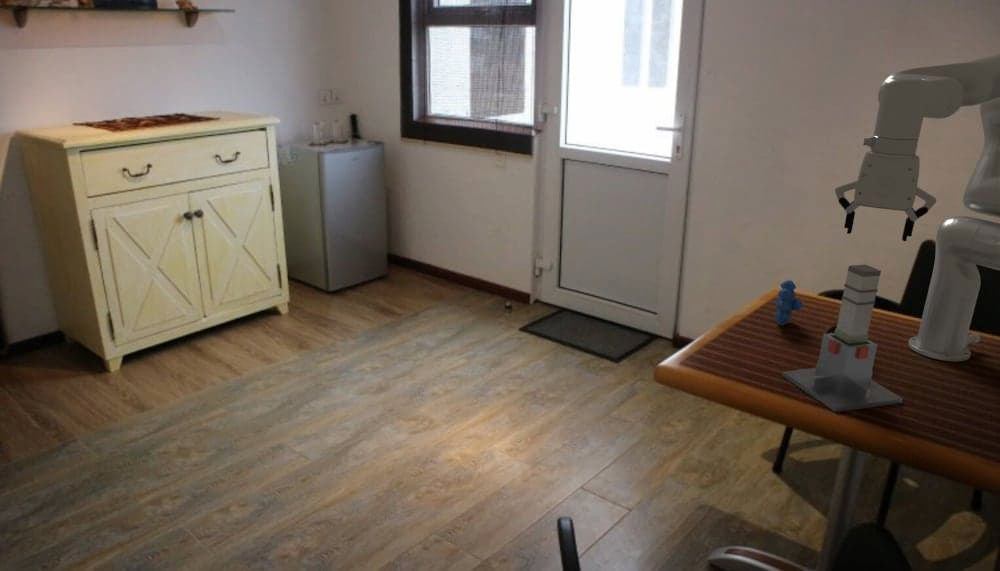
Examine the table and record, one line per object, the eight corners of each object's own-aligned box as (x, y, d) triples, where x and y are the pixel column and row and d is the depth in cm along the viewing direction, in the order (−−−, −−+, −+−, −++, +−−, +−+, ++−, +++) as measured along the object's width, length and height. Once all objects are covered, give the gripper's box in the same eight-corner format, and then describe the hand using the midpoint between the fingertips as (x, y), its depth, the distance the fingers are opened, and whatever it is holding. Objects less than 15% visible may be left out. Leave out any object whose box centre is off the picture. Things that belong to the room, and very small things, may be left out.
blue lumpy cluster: (795, 336, 179) (804, 289, 175) (766, 330, 182) (774, 283, 178) (803, 321, 188) (811, 276, 184) (775, 315, 191) (783, 271, 188)
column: (847, 351, 153) (865, 264, 147) (863, 360, 149) (882, 270, 143) (830, 353, 152) (847, 265, 146) (845, 362, 148) (863, 272, 142)
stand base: (844, 368, 162) (854, 321, 159) (901, 402, 148) (913, 352, 144) (782, 376, 158) (790, 327, 154) (834, 412, 143) (845, 359, 140)
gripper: (841, 145, 139) (826, 234, 145) (948, 154, 132) (927, 247, 138) (844, 140, 146) (829, 225, 152) (946, 148, 138) (926, 237, 144)
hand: (876, 235), depth 145 cm, fingers open, 9 cm apart
